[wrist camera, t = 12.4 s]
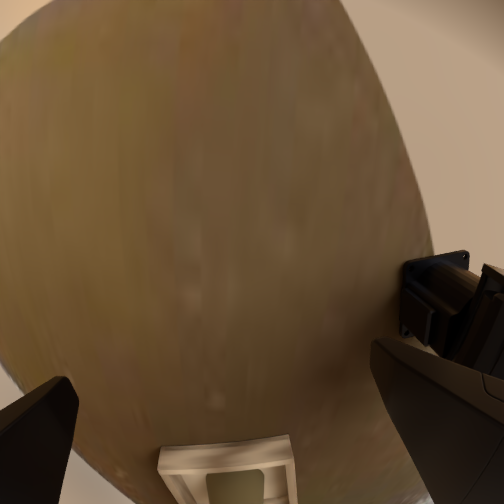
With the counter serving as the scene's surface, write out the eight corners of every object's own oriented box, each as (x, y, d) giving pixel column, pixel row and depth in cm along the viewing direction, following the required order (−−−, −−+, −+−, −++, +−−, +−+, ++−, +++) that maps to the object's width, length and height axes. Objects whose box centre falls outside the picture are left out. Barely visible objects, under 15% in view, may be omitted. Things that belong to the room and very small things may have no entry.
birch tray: (288, 434, 26) (293, 458, 23) (294, 493, 29) (298, 512, 26) (161, 446, 26) (157, 469, 23) (192, 503, 29) (191, 522, 26)
